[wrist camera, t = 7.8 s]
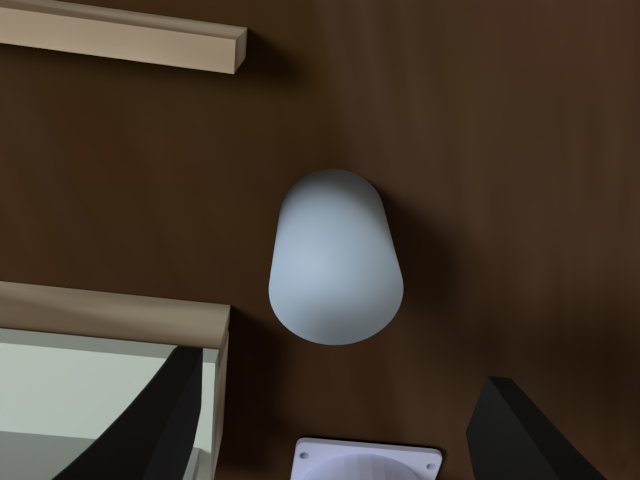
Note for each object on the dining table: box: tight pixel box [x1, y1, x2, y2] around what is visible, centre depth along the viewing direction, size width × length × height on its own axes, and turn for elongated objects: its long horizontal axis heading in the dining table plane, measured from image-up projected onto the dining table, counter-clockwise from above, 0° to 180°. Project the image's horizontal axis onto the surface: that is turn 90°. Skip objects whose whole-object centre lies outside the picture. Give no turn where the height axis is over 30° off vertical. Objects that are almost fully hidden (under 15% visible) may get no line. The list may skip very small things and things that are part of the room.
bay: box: [0, 0, 247, 480], centre depth 21 cm, size 20×15×3 cm
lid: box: [0, 328, 219, 480], centre depth 21 cm, size 10×14×4 cm
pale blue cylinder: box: [269, 169, 403, 345], centre depth 19 cm, size 4×4×6 cm
